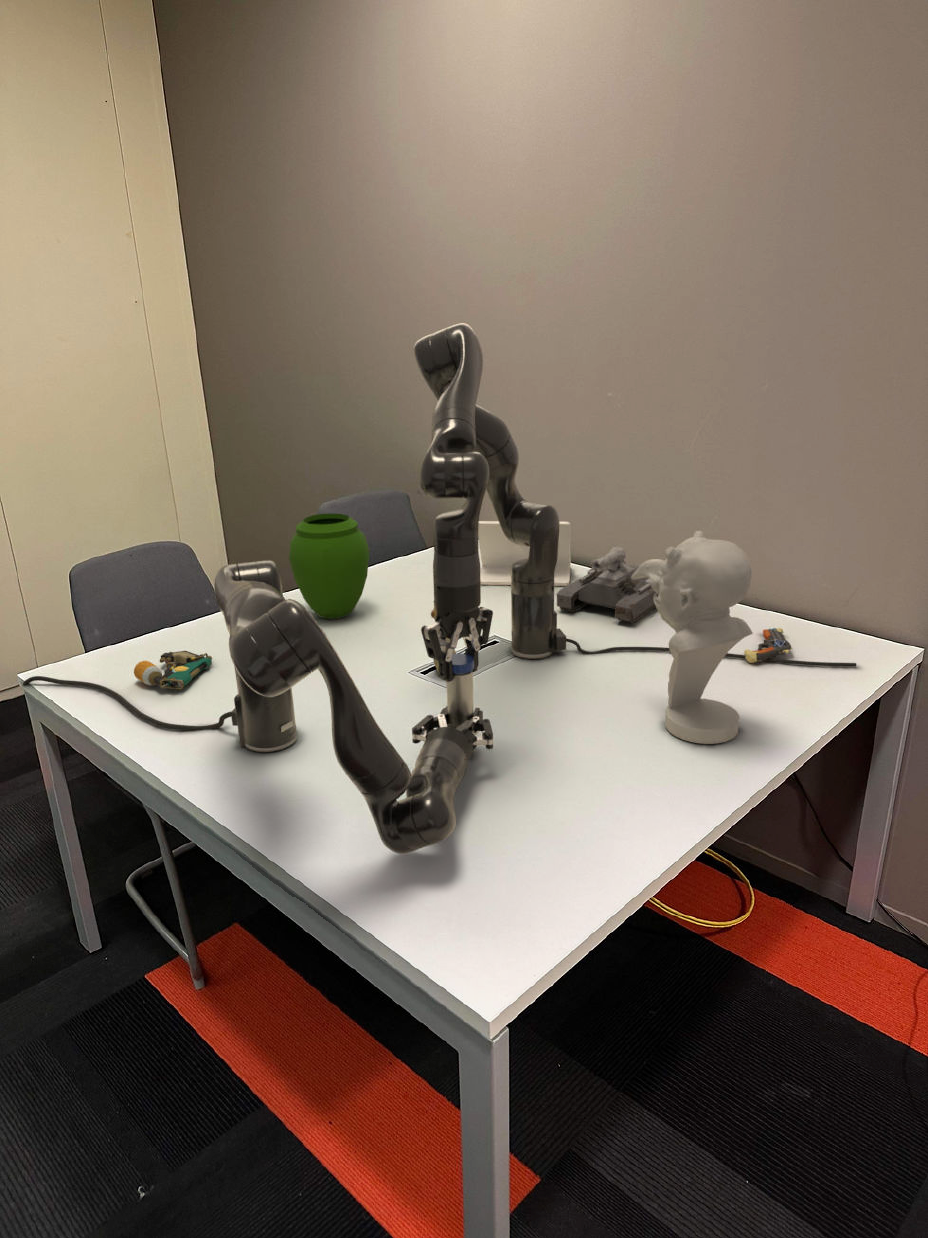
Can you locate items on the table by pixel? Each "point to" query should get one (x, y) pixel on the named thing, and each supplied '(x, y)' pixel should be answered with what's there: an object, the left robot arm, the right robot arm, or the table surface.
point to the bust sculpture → (699, 629)
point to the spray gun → (172, 669)
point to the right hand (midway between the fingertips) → (459, 674)
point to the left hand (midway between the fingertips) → (463, 711)
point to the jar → (460, 699)
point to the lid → (462, 663)
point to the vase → (329, 563)
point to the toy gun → (769, 646)
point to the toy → (610, 589)
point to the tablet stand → (516, 554)
